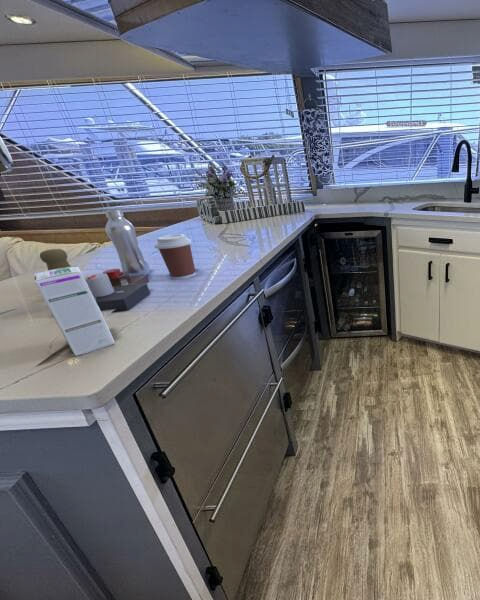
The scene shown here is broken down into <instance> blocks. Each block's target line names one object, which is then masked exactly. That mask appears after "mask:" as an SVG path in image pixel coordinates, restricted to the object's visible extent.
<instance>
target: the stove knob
mask: <svg viewBox="0 0 480 600" xmlns="http://www.w3.org/2000/svg"><path fill="white" fill-rule="evenodd" d="M83 277H84V279H85V281H86V283H87V285H88V287H89V288H90V290H91V292H92V294H93V296H94V297H102V296H106V295H109V294H112V293H113V292H114V289H113V287H112V285H111V282H110V280H109V277H108V275H107V274H106V273H103V272H102V273H95V274H89V275H87V276H83Z"/></svg>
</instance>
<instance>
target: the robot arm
mask: <svg viewBox="0 0 480 600" xmlns="http://www.w3.org/2000/svg"><path fill="white" fill-rule="evenodd" d="M13 163H14V160H13V157H12V156H11V153H10V151H9V150H8V147H7V145H6V144H5V142H4V140H3V139H2V137H1V136H0V177H1V176H2V174H4V173H8V172H11V171H13V168H12V166H11V165H12V164H13ZM4 201H6V198H5V195H4V192H3V191H2V189H1V187H0V202H4Z"/></svg>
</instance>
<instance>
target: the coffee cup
mask: <svg viewBox="0 0 480 600" xmlns="http://www.w3.org/2000/svg"><path fill="white" fill-rule="evenodd" d="M156 240H157V241H156V243H155V244H154V248H155V249H157V250H158V251H159V253H160V255H161V257H162V259H163V262H164V264H165V266H166V268H167V271H168V273H169V275H170V278H171V279H173V280H183V279H187V278H191V277H194V276H195V275H197V271H196V267H195V266H196V265H195V262H194V257H193V253H192V248H191V244H193V242H192V239H189V238H188V237H187V235H186V234H183V233H177V234H176V233H175V234H168V235H162V236H159V237H157V239H156Z"/></svg>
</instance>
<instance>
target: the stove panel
mask: <svg viewBox="0 0 480 600" xmlns="http://www.w3.org/2000/svg"><path fill="white" fill-rule="evenodd" d="M147 283H148V282H147ZM147 283H145V284H136V285H126V286H116V287H113V289H114V292H113V293H112V294H109V295H106V296H102V297H94V298H95V300H96V302H97V304H98V306H99V309H100V311H101V312H102V311H108V310H113V311H111V312H110V313H120V312H121V313H122V312H129V311H130V310H132V309H133V308H134V307H135V306H138V304H139V303H141V302H142V301H143V300H145V299H146V298H147V297H149V296H150V295H151V292H150V289H149V286H148V284H147Z"/></svg>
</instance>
